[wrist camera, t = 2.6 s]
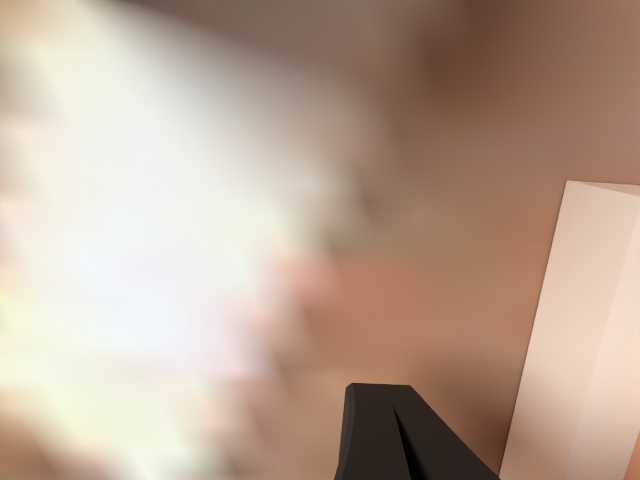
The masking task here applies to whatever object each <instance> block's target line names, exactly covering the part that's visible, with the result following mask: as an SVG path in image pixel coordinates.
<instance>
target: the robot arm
mask: <svg viewBox="0 0 640 480" xmlns="http://www.w3.org/2000/svg"><path fill="white" fill-rule="evenodd" d="M334 480H501V479H500V478H499V477H498V476H497V475H496V474H495V473H494V472H492V471H491V470H490V469H489V468H488V467H487V466H486V465H485V464H484V463H483V462H482V461H481V460H480V459H479V458H478V457H477V456H476V455H475V454H474V453H473V452H472V451H471V450H470V449H469V448H468V447H467V446H466V445H465V444H464V443H463V442H462V440H461V439H460V438H459V437H458V436H457V435H456V434H455V433H454V432H453V431H452V430H451V429H450V428H449V427H448V426H447V425H446V424H445V422H444V421H443V420H442V419H441V418H440V417H439V416H438V415H437V414H436V413H435V412H434V411H433V410H432V408H431V407H430V406H429V405H428V404H427V403H426V402H425V401H424V400H423V399H422V397H421V396H420V395H419V394H418V393H417V392H416V391H415V390H414V389H413V388H412V387H411V386H410V385H390V384H366V383H351V384H350V385H349V386H347V387H346V392H345V402H344V412H343V422H342V432H341V442H340V452H339V464H338V468H337V471H336V475H335V478H334Z"/></svg>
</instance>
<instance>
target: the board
mask: <svg viewBox="0 0 640 480" xmlns="http://www.w3.org/2000/svg"><path fill="white" fill-rule="evenodd" d="M639 430H640V185H627V184H613V183H598V182H583V181H568V180H567V182H566V186H565V190H564V195H563V199H562V204H561V208H560V212H559V217H558V221H557V225H556V230H555V234H554V239H553V243H552V247H551V252H550V256H549V260H548V265H547V269H546V273H545V278H544V282H543V287H542V291H541V295H540V300H539V304H538V308H537V313H536V317H535V322H534V326H533V330H532V335H531V339H530V343H529V348H528V352H527V356H526V361H525V365H524V370H523V374H522V378H521V383H520V387H519V391H518V396H517V400H516V404H515V409H514V413H513V418H512V422H511V426H510V431H509V435H508V439H507V444H506V448H505V453H504V457H503V461H502V466H501V470H500V474H499V478H500V479H501V480H623V479H624V476H625V473H626V470H627V467H628V464H629V461H630V458H631V455H632V452H633V449H634V446H635V443H636V440H637V436H638V433H639Z"/></svg>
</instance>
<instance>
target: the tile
mask: <svg viewBox="0 0 640 480" xmlns="http://www.w3.org/2000/svg"><path fill="white" fill-rule="evenodd" d="M623 480H640V430H639V433H638V436H637V440H636V443H635V446H634V449H633V452H632V455H631V458H630V461H629V464H628V467H627V470H626V473H625V476H624V479H623Z"/></svg>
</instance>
